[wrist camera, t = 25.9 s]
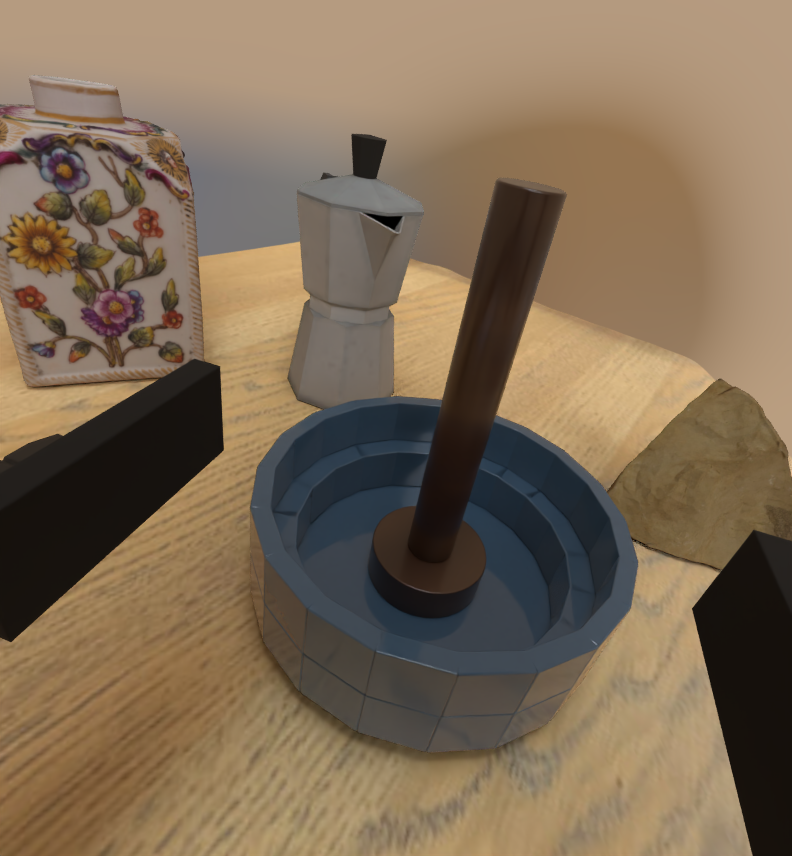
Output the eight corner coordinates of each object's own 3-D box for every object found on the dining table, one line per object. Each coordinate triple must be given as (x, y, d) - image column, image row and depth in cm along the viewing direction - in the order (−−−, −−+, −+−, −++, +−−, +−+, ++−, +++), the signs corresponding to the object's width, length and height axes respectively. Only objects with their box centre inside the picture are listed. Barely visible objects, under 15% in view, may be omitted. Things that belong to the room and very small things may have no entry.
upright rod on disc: (499, 580, 25) (655, 208, 15) (423, 641, 22) (563, 208, 12) (422, 515, 28) (511, 170, 18) (345, 559, 25) (404, 161, 15)
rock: (843, 543, 30) (701, 434, 35) (920, 489, 23) (728, 365, 28) (701, 652, 29) (581, 525, 35) (735, 632, 22) (579, 477, 28)
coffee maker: (421, 423, 38) (480, 160, 28) (309, 435, 34) (331, 138, 24) (357, 339, 49) (383, 128, 39) (266, 341, 45) (270, 110, 35)
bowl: (640, 610, 26) (696, 530, 23) (422, 881, 16) (467, 805, 12) (420, 447, 35) (437, 373, 32) (190, 548, 25) (180, 454, 21)
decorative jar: (207, 378, 38) (191, 104, 28) (24, 392, 33) (-75, 63, 23) (185, 316, 47) (167, 89, 37) (36, 321, 41) (-32, 56, 32)
